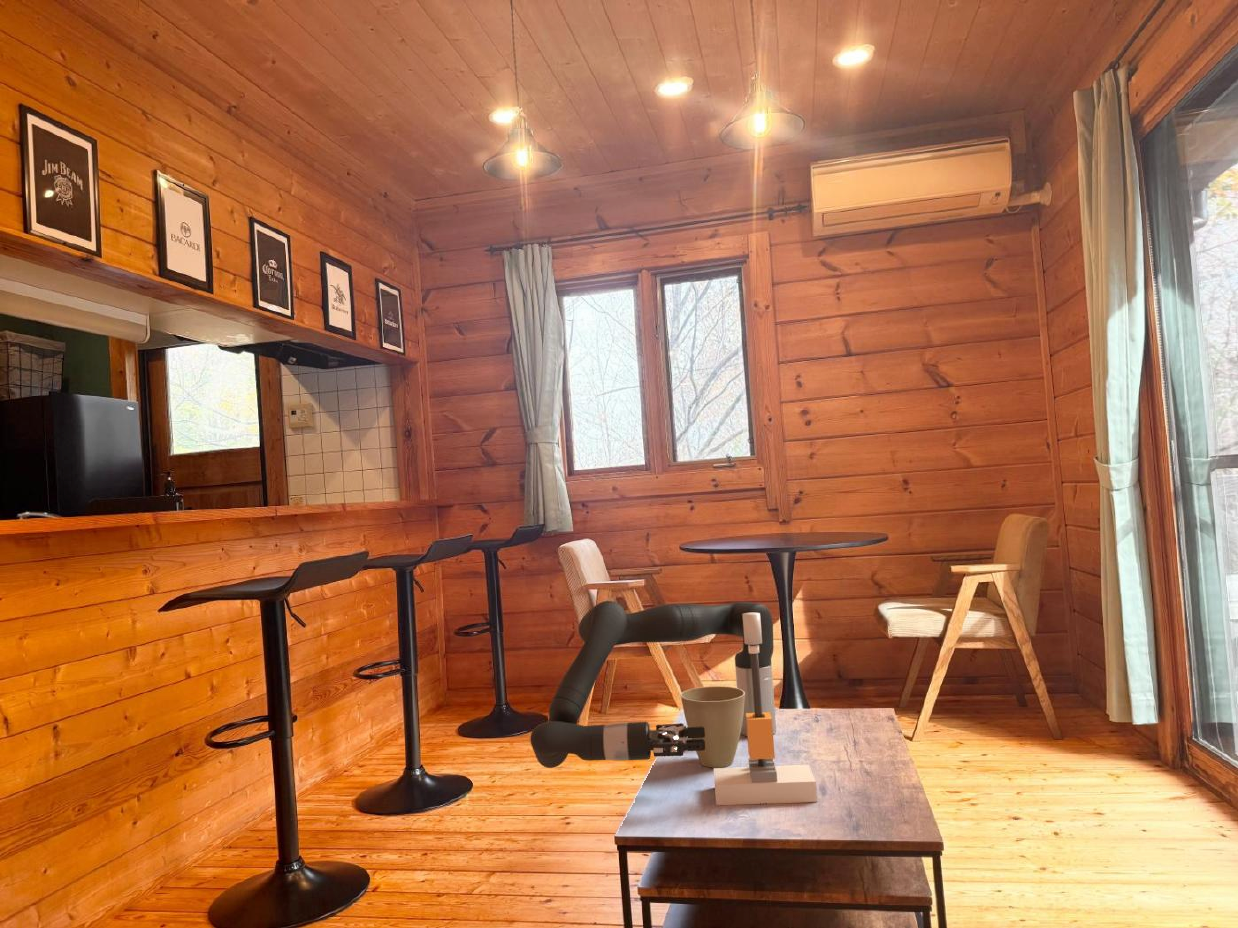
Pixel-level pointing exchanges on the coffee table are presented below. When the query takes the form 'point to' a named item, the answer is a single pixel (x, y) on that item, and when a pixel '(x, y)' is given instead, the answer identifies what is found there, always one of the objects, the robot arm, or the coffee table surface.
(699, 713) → the plant pot
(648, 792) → the coffee table surface
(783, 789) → the stand
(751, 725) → the sleeve
